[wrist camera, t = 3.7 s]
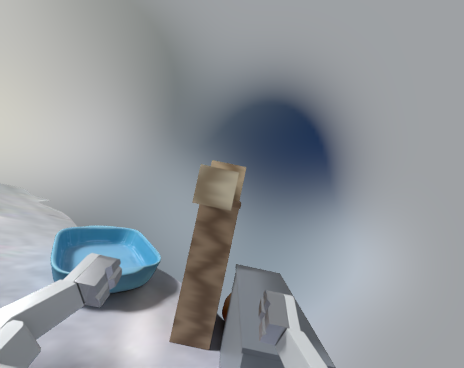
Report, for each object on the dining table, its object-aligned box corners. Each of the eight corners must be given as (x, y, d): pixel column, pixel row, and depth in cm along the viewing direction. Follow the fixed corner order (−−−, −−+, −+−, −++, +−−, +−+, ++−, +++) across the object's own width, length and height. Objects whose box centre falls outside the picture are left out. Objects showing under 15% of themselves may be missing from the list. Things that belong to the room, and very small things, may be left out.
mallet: (174, 198, 17) (190, 124, 17) (209, 193, 45) (215, 165, 45) (249, 214, 17) (264, 140, 17) (237, 199, 45) (243, 171, 45)
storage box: (207, 518, 16) (242, 347, 16) (219, 341, 34) (236, 264, 35) (303, 539, 16) (335, 367, 16) (264, 351, 34) (279, 273, 35)
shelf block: (167, 342, 32) (200, 194, 33) (187, 294, 46) (209, 193, 47) (209, 351, 32) (241, 203, 33) (216, 301, 46) (238, 199, 47)
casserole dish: (52, 244, 57) (58, 222, 58) (131, 242, 72) (135, 224, 72) (33, 327, 30) (44, 283, 30) (167, 296, 44) (174, 267, 44)
